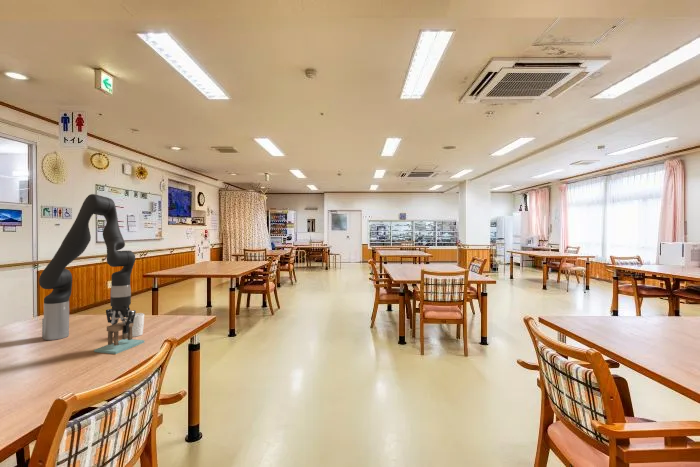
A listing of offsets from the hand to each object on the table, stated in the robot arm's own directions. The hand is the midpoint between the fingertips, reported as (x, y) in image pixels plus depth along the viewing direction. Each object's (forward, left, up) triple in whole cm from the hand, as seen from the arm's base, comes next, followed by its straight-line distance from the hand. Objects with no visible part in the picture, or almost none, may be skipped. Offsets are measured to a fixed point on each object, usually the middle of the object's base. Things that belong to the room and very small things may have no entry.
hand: (120, 332), depth 148 cm
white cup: (-8, +16, -7) cm, 19 cm away
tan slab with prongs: (0, 0, -4) cm, 4 cm away
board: (0, 0, -7) cm, 7 cm away
